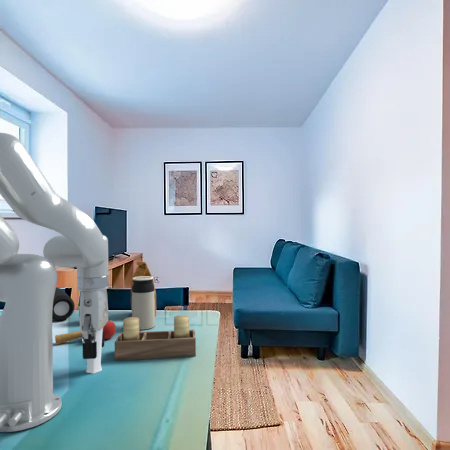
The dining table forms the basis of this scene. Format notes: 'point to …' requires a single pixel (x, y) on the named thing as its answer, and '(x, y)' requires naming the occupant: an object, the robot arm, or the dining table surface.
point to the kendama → (108, 333)
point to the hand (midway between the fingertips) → (94, 351)
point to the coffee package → (142, 271)
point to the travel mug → (143, 301)
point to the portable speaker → (62, 305)
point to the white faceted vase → (95, 364)
